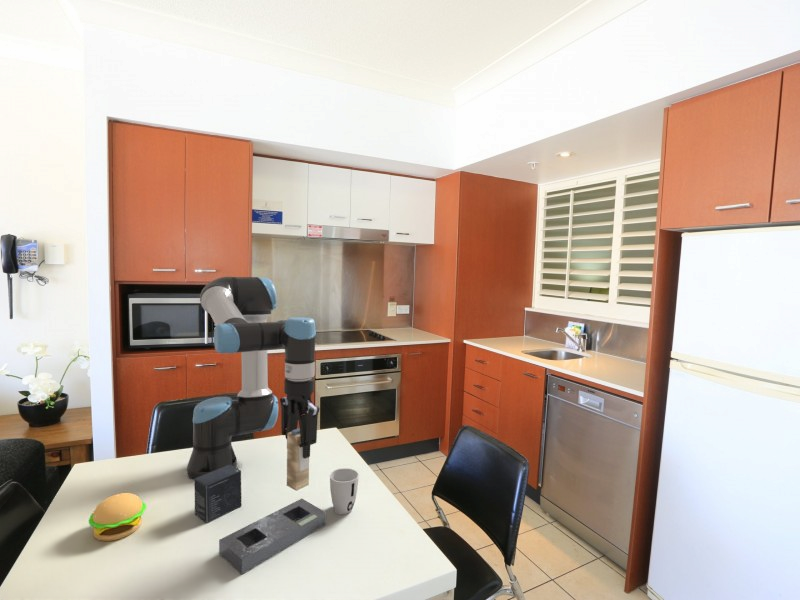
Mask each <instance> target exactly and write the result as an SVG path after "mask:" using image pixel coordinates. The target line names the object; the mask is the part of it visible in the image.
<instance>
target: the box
mask: <svg viewBox="0 0 800 600" xmlns="http://www.w3.org/2000/svg"><path fill="white" fill-rule="evenodd" d="M193 480H194V481H193V482H194V483H193V486H194V516H196V517H197V518H198V519H199V520H201V521H203V522H204V523H206V524H208V523H211V522H212V521H214V520H216V519H218V518H221V517H223V516H225V515H226V514H228V513H230V512H232V511H234V510H236V509H238V508H240V507H242V470H241V469H238V468H237V467H236V468H235V467H233V466H230V465H227V466H225V467H222V468H220V469H217V470H215V471H212V472H210V473H207V474H205V475H202V476H200V477H197V478H195V479H193Z"/></svg>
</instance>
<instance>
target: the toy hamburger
mask: <svg viewBox="0 0 800 600" xmlns="http://www.w3.org/2000/svg"><path fill="white" fill-rule="evenodd" d="M146 509H147V505H146V503H145V502H143V501H142V500H141V498H140V497H139V496H138V495H136V494H135V493H130V492H122V493H116V494H114V495H111V496H109V497H108V496H107V497H106V498H105V499H103V501H101V502H100V503H99V504H97V506H96V508H95V509H94V510H93V513H90V515H89V518H88V524H89V526H91V527H93V536H94V537H95V539H97V540H99V541H101V542H112V541H116V540H117V541H118V540H120V539H123V538H126V537H128V536H130V535H131V534H133V533H135V532H136V531H137V530H138V529H139V528H140V526H141V525H142V523H143V522H142V521H143V518H142V515H143V514H144V512H145V510H146Z"/></svg>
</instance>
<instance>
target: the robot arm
mask: <svg viewBox="0 0 800 600" xmlns="http://www.w3.org/2000/svg"><path fill="white" fill-rule="evenodd" d="M277 297H278V296H277V291H276V287H275V285H274V282H273V281H272V279H270V278H267V277H262V276H261V277H259V276H253V277H251V276H222V277H218V278H215V279H213V280H211V281H210V282H208V283H207V284H206V285H205V286H204V287H203V288H202V289H201V292H200V295H199V301H200V305H201V308H203V310H204V311H205V312H206V313H208V314H210V317H211V318H212V321H213V323H214V324H215V327H214V330H213V345H214V350H215V351H216V353H219V354H235V353H236V354H237V353H241V390H240V391H239V392H238V393H237V396H236V397H237V399H236V400H232V398H231V397H229V396H216V397H211V398H207V399H205V400H202V401H200V402H198V403H197V404H196V405H195V407H194V409H193V412H192V413H193V415H192V416H193V417H192V425H193V426H192V428H193V429H192V430H193V433H192V451H191V454H190V456H189V457H190V458H189V460H188V462H187V465H186V474H187V477H188V478H190V479H192V480H194V479H195V478H197V477H200V476H202V475H205V474H207V473H210V472H212V471H215V470H217V469H220V468H222V467H225V466H227V465H230V466H233V467H235V468H237V466H238V461H237V455H236V453H235V451H234V448H233V445H232V437H235V436H241V435H242V436H243V435H247V434H251V433H258V432H259V433H260V432H261V433H262V432H264V431H267V430H271V429H272V428H274V426H275V425H276V423H277V420H278V415H279V403H280V413H281V418H280V419H281V423H280V424H281V427H280V428H281V429H280V431H281V435H282V436H285V439H286V440H287V433H289V432H292V430H295V429H298V427H299V428H300V437H301V444H300V445H299V471H302V470H305V469H307V468H309V469H310V457H311V446H312V445H314V444H316V443H317V439H318V438H317V437H318V436H317V435H318V417H319V412H320V406H319V405H317V406H315V405H314V404H313V400H312V395H313V393H314V392H315V378H314V377H315V373H316V361H315V358H316V335H317V332H316V322H315V320H314V319H313V318H312V317H307V316H306V317H304V316H302V317H301V316H300V317H299V316H297V317H288V318H287V319H286V320H285V319H282V320H276V321H271V322H270V321H268V319H269V318H270V317H271V316H272V311H274V310H276V308H277V303H278V299H277ZM273 350H275V351H276V350H284V378H285V379H284V382H283V383H284V384H283V385H284V386H283V388H284V389H283V391H284V394H285V395H286V396H284V397H281V398H279V400H278V397H277V396H276V395H274V394H273V390H271V389H270V388H269V385H268V383H269V382H268V377H269V376H268V351H273Z"/></svg>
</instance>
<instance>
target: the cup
mask: <svg viewBox="0 0 800 600" xmlns="http://www.w3.org/2000/svg"><path fill="white" fill-rule="evenodd" d="M359 475H360V474H359V472H358V471H357V470H356V469H353V468H347V467H345V468H344V467H343V468H337V469H335V470H333V471H331V472H330V474H329V488H330V496H331V501H332V502H331V503H332V505H333V509H334V512H335V513H336V514H339V515H347V514H349V513H351V512H352V511H353V508H354V505H355V503H356V499H357V493H358V486H359Z"/></svg>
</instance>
